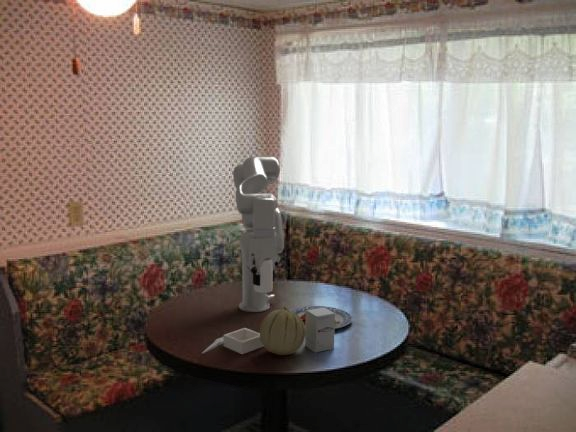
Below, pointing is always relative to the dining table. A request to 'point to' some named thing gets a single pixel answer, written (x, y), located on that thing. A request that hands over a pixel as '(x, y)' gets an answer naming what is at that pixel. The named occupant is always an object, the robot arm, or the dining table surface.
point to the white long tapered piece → (215, 344)
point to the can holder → (243, 340)
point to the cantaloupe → (282, 332)
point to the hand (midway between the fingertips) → (263, 282)
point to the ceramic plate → (340, 315)
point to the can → (265, 277)
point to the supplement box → (319, 329)
